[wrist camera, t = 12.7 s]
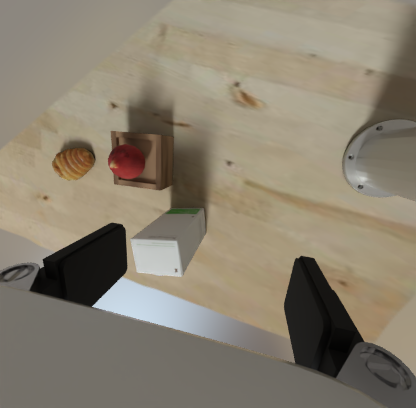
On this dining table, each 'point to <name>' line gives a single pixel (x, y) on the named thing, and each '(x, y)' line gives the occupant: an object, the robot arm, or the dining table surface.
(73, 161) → the pastry
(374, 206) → the dining table surface
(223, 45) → the dining table surface
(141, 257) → the skincare box
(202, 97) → the dining table surface
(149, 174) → the wooden crate
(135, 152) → the onion
